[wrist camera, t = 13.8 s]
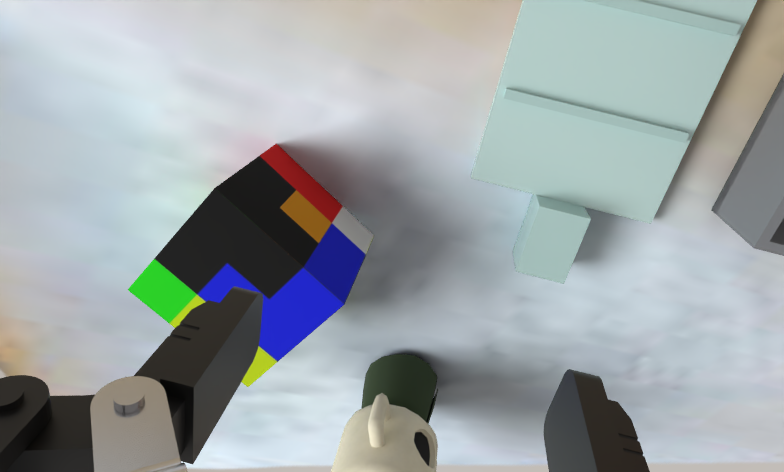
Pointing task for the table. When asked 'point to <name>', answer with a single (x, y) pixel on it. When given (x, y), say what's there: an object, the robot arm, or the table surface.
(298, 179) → the puzzle toy
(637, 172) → the lid
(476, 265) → the table surface
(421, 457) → the character mug
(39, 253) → the table surface
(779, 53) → the table surface
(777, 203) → the tub
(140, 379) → the robot arm
